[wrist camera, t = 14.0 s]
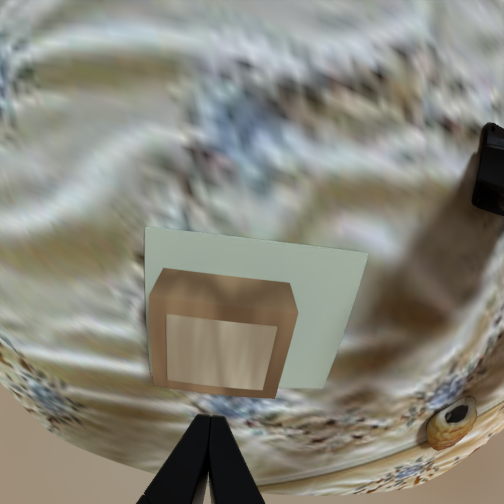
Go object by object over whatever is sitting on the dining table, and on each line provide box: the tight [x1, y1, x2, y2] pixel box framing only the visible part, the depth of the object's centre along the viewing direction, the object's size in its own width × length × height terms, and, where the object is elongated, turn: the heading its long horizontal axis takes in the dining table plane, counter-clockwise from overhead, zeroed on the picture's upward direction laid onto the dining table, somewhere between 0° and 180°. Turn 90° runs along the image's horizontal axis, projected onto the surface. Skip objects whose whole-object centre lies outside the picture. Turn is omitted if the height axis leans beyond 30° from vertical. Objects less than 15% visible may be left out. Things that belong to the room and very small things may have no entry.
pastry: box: [426, 396, 477, 451], centre depth 27 cm, size 9×7×4 cm
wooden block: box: [149, 268, 298, 399], centre depth 19 cm, size 4×7×8 cm
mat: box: [145, 227, 368, 389], centre depth 21 cm, size 14×12×1 cm
